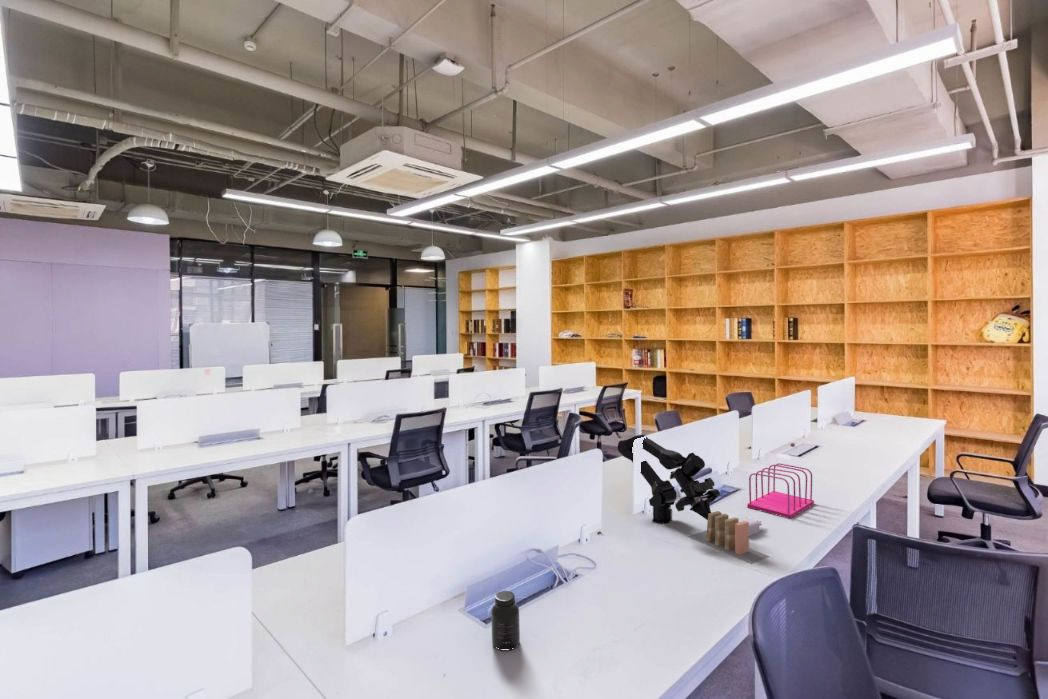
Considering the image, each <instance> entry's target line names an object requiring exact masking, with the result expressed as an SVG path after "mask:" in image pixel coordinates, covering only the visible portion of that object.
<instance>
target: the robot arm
mask: <svg viewBox="0 0 1048 699" xmlns="http://www.w3.org/2000/svg"><path fill="white" fill-rule="evenodd" d="M644 436H646V434H637V435H634V436H633V437H630V438H628V439H621V440H619V441H618V444H617V451H618V453H620V455H621V456H622V457H624V458H626V459H627V460H628V461H631V462H632V463H633V453H632V447H633V442H634V440H635V439H637V438H641V437H644ZM648 438H649V437H648V436H646V439H645V438H644V440H643V443H642V444H643V448H642V450H644V451H646V452H647V453H649V454H650V455H651V456H653V457H655V458H656V459H657V460H658V461H659V463H660V465H661V466H662V467H664V468H665V469H666V470H667V471H670V470H673V471H670V475H669V479H670V480H673V479H675V481H676V482H677V484H678V485H679V487H680V488H681V489H680V493H684V495H685V496H682V497H681V498H680V499H679V500H678V501H677V502H675V501H676V500H677V497H678V494H677V491H676V487H675V486H674V485H672V483H671V482H670V480H669V479H667V480H662V478H661V477H660V476H659V475H658V473H657V472H656V471H655V470H654V468H653V467H652V466H651V465H650V463H649V462H648V461H647V460H646V461H643V462H641V472H639V473H640V475H641V476H642V477H643V478H644V480H645V481H646V482H647V483H648V485H649V486H650V489H651V495H652V496H651V497H650V498H649V499H648V503H649V506H650V507H652V514H653V515H652V520H651V522H652V521H653V523H659V524H665V525H666V524H669V523H670V522H672V520H673V509H672V506H673V505H674V504H675V509H676V510H677V512H679V513H680V512H682V511H684V510H685V507H687V506H689V505H690V508H689V510H690V511H692V512H694V513H696V514H698V515H699V516H700V517H702V518H704V519H705V520H706V521H708V514H709V513H712V511H711V507H710V504H711V503H713V502H714V501H716V500H717V499H718V498H719V497H720V496H722V493H721V492H720V491H719V490H718V489H716V488H714V487H715V481H714V480H713V479H712V478H711V477H708V478H704V481H702V482H700V481H699V480H698V479H697V480H696V479H695V478H694V477H696V475H698V474H699V473H700V472H701V470H703V469H704V468H705V466H706V463H705V460H704V459H703V458H702V457H700V456H699V455H697V454H695V452H689V453H688V454H687V456H686V457H685V456H683V455H682V453H680V452H677V451H675V450H671V449H667V448H664V447H663V446H662V445H660V444H658V443H657V442H655V441H654V440H652V439H650V438H649V439H648Z"/></svg>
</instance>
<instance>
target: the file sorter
mask: <svg viewBox="0 0 1048 699" xmlns="http://www.w3.org/2000/svg"><path fill="white" fill-rule="evenodd" d="M772 467H773V468H772ZM776 467H779V468H783V469H785V470H783V469H779V468H778V469H777V468H776ZM786 469H789V470H786ZM766 470H767V471H766ZM791 470H794V471H791ZM804 470H806V471H808V473H809V474H810V490H809V491H810V493H809V494H810V495H809V498H807V497H808V474H807V473H806V472H805V471H804ZM771 471H772V472H771ZM777 471H778V472H777ZM795 471H799V472H801V473H803V474H804V476H805V487H804V488H805V489H804V491H805V493H804V497H802V495H801V493H802V492H801V489H802V488H801V477H800V475H799V474H798V473H797V472H795ZM780 472H784V473H790V474H794V475H796V477H797V478H798V496H796V481H795V480H796V479H794V478H793V477H792V476H791V475H788V474H783V473H780ZM764 473H765V474H764ZM771 474H772V475H771ZM753 475H755V499H753V500H752V485H751V484H752V483H751V481H752V476H753ZM776 475H778V476H776ZM758 476H760V483H761V496H760V497H758ZM779 476H782V477H779ZM764 477H767V493H765V494H764V480H763V478H764ZM783 477H788V478H790V479H791V480H792V482H793V494H790V484H789V482H788V481H787V479H786V478H783ZM771 478H773V483H772V484H773V485H772V486H773V487H772V489H773V491H770V481H771V480H770V479H771ZM776 479H779V480H783V481H784V482H785V483H786V485H787V493H783V492H779V491H776ZM748 491H749V493H748V494H749V502H748V503H747V505H746V506H747V508H748V509H749V508H750V509H752V508H753V509H752V510H756V509H757V510H756V511H759V510H761V511H760V512H763V511H765V512H764V513H767V512H769V513H768V514H771V513H773V514H772V515H775V514H777V515H776V516H778V515H781V516H780V517H782V516H785V517H784V518H786V517H788V518H787V519H792V518H793V517H792V516H794V515H795V516H797V515H798V514H800V513H801V511H802V510H803V511H805V510H806V509H805V508H807V507H808V508H810V507H811V505H812V504H813V505H815V501H814V499H813V473H812V471H811V470H810V469H809V468H806V467H802V466H796V465H791V464H785V463H781V462H780V463H776V464H771V465H769V466H768V467H763V468H762V470H758V471H756V472H754V473H751V474H749V478H748ZM813 505H812V506H813ZM809 506H810V507H809ZM808 508H807V509H808ZM804 509H805V510H804ZM803 511H802V512H803ZM799 512H800V513H799ZM797 513H798V514H797ZM796 514H797V515H796ZM795 516H794V517H795ZM791 517H792V518H791Z"/></svg>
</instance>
